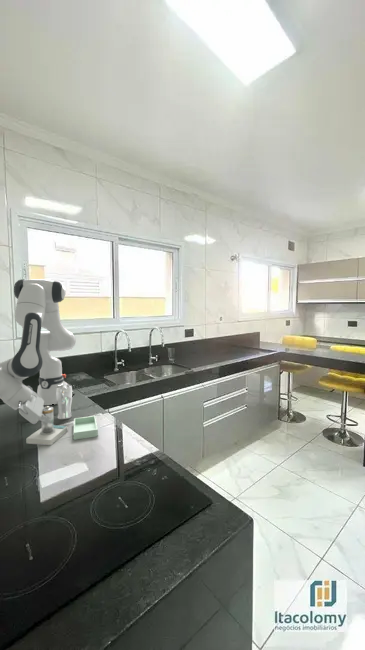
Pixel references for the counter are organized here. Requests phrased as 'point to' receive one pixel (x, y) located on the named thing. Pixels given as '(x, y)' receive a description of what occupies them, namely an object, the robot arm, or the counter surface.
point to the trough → (85, 427)
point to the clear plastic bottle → (64, 401)
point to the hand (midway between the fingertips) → (49, 418)
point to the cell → (49, 413)
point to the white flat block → (46, 436)
